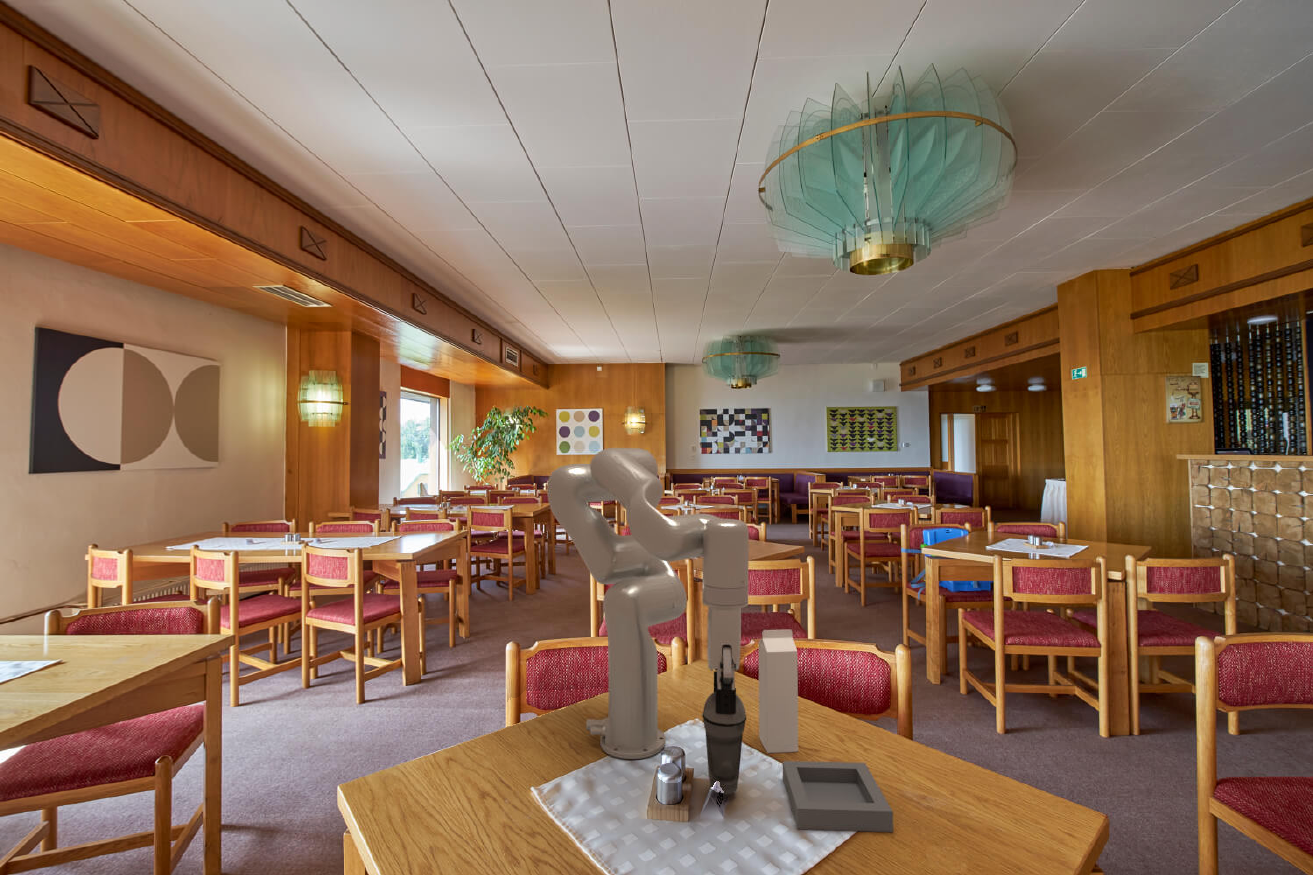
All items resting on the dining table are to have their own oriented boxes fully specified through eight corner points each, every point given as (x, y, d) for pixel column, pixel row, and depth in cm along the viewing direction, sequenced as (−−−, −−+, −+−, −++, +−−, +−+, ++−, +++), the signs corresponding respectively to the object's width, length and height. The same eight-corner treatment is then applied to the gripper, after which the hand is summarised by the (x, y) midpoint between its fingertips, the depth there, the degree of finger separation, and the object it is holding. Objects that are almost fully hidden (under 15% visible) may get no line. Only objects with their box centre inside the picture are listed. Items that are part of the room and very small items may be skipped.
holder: (797, 828, 89) (797, 808, 89) (782, 778, 103) (782, 760, 103) (893, 832, 88) (892, 811, 88) (865, 780, 102) (864, 762, 102)
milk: (798, 752, 112) (798, 634, 113) (766, 753, 112) (766, 635, 112) (788, 736, 118) (788, 625, 119) (758, 738, 118) (758, 625, 118)
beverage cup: (731, 804, 93) (732, 676, 93) (692, 788, 98) (694, 665, 98) (753, 784, 99) (754, 663, 99) (716, 769, 103) (717, 653, 104)
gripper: (701, 582, 108) (700, 682, 107) (703, 607, 90) (702, 727, 90) (743, 583, 107) (742, 684, 107) (753, 609, 90) (752, 729, 90)
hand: (724, 703), depth 98 cm, fingers closed on beverage cup, 6 cm apart
